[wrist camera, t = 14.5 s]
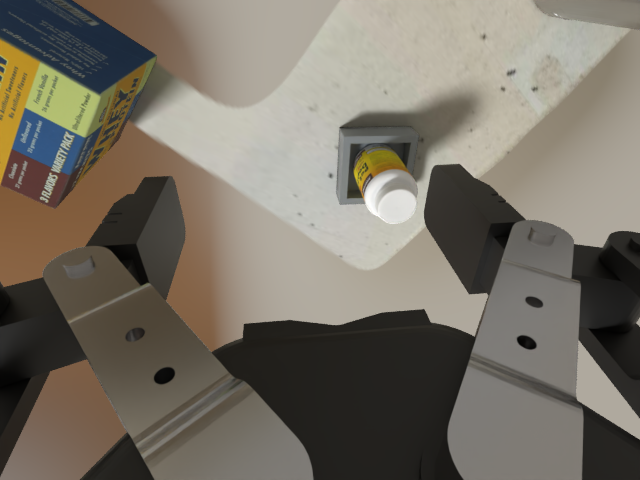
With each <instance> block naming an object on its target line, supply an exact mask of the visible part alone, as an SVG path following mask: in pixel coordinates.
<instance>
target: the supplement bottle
mask: <svg viewBox="0 0 640 480" xmlns="http://www.w3.org/2000/svg"><path fill="white" fill-rule="evenodd" d="M353 173H354V176H355V179H356V181H357V184H358V186H359V189H360V191H361V194H362V196H363V199H364V201H365V204H366V206H367V208H368V209H369V211H370V212H371V213H372V214H374V215H376V216H377V217H380V218H381V219H382V220H383V221H385V222H387V223H391V224H397V223H402V222H404V221H406V220H408V219H409V218H410V217H411V216H412V215H413V214H414V212H415V210H416V207H417V199H416V198H417V194H418V188H417V184H416V182H415V180H414V178H413V177H412V175H411V174H410V172H409V171H408V169H407V168H406V167H405V165H404V164H403V162H402V161H401V159H400V158H399V157H398V155H397V154H396V152H395V151H394V150H393V149H392V148H391V147H389V146H387V145H384V144H372V145H369V146H367V147H365V148H364V149H362V150H361V151H360V152H359V153H358V155H357V156H356V158H355V160H354V163H353Z"/></svg>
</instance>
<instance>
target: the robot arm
mask: <svg viewBox="0 0 640 480" xmlns="http://www.w3.org/2000/svg"><path fill="white" fill-rule="evenodd" d="M534 2H535V4H536V6H537V7H538V8H539V9H540V10H541V11H542V12H543V13H545V14H547V15H549V16H553V17H558V18H563V19H567V20H577V21H584V22H590V23H597V24H603V25H610V26H616V27H623V28H630V29H636V30H640V0H534ZM424 219H425V224H426V227H427V229H428V230H429V232H430V233H431V235H432V236H433V238H434V239H435V241H436V243H437V244H438V246H439V248H440V249H441V251H442V252H443V254H444V255H445V257H446V259H447V260H448V262H449V263H450V265H451V266H452V268H453V269H454V271H455V273H456V274H457V276H458V277H459V279H460V281H461V282H462V284H463V285H464V287H465V288H466V290H467V292H468V293H469V294H479V293H487V294H488V295H489V296H488V298H487V301H486V304H485V307H484V310H483V313H482V316H481V319H480V322H479V325H478V328H477V331H476V334H475V337H474V336H472V335H470V334H468V333H466V332H463V331H461V330H458V329H456V328H452V327H449V326H446V325H441V324H436V323H431V322H430V320H429V318H428V316H427V314H426V312H425V310H424V309H422V310H409V311H397V312H385V313H379V314H376V315H373V316H369V317H366V318H363V319H359V320H356V321H352V322H349V323H346V324H343V325H327V324H318V323H310V322H301V321H293V320H287V321H273V322H262V323H249V324H244V330H243V338H242V339H239V340H236V341H233V342H231V343H228V344H226V345H224V346H222V347H220V348H218V349H216V350H214V351H213V352H211V351H210V350H209V349H208V348H207V347H206V346H205V345H204V344H203V342H202V341H201V340H200V339H199V338H198V337H197V336H196V335H195V333H194V332H193V331H192V330H191V329H190V328H189V327H188V326H187V325H186V323H185V322H184V321H183V320H182V319H181V318H180V316H179V315H178V314H177V313H176V312H175V311H174V310H173V309H172V307H171V306H170V305H169V304H168V303H167V302H166V299H167V295H168V292H169V289H170V286H171V283H172V279H173V276H174V273H175V270H176V267H177V264H178V260H179V257H180V254H181V251H182V248H183V244H184V241H185V224H184V219H183V214H182V210H181V206H180V202H179V197H178V193H177V189H176V185H175V181H174V179H173V177H171V176H163V177H145V178H144V179H143V180H142V182H141V183H140V185H139V187H138V188H137V190H136V192H135V193H134V194H127V195H126V196H125V197H123V198H121V199H120V200H119V201H117V202H116V203H114V205H113V206H112V207H111V209H110V211H109V212H108V215H106V216H105V218H104V219H103V221H102V224H100V225H99V227H98V228H97V230H96V231H95V233H94V234H93V236H92V237H91V239H90V240H89V242H88V243H87V245H86V246H85V247H81V248H76V249H73V250H70V251H68V252H65V253H63V254H61V255H59V256H58V257H56V258H54V259H53V260H52V261H51V262H49V263H48V264H47V265H46V267H45V268H44V270H43V277H42V278H39V279H35V280H31V281H27V282H23V283H19V284H15V285H11V286H7V287H3V285H2V284H1V282H0V476H1V474H2V472H3V470H4V468H5V465H6V463H7V461H8V459H9V457H10V455H11V453H12V451H13V449H14V447H15V444H16V442H17V440H18V438H19V436H20V434H21V432H22V430H23V427H24V425H25V423H26V421H27V419H28V417H29V415H30V413H31V411H32V409H33V407H34V405H35V402H36V400H37V398H38V396H39V394H40V392H41V390H42V388H43V385H44V383H45V381H46V379H47V377H48V375H49V373H50V371H52V370H55V369H58V368H61V367H64V366H67V365H70V364H73V363H76V362H79V361H82V360H86V359H87V360H88V362H89V364H90V366H91V367H92V369H93V371H94V373H95V375H96V377H97V378H98V380H99V382H100V384H101V386H102V388H103V389H104V391H105V393H106V395H107V397H108V399H109V400H110V402H111V404H112V406H113V408H114V410H115V411H116V413H117V415H118V417H119V419H120V421H121V422H122V424H123V426H124V428H125V430H126V432H127V433H126V434H125V435H124V436H123V437H122V438H121V439H120V440H119V441H118V442H117V443H116V444H115V445H114V446H113V447H112V448H111V449H110V450H109V451H108V452H107V453H106V454H105V455H104V456H103V457H102V458H101V459H100V460H99V461H98V462H97V463H96V464H95V465H94V466H93V467H92V468H91V469H90V470H89V471H88V472H87V473H86V474H85V475H84V476H83V477H82V478H81V479H80V480H640V440H639V439H638V438H636V437H634V436H633V435H631V434H629V433H628V432H626V431H625V430H623V429H622V428H620V427H618V426H617V425H615V424H614V423H612V422H611V421H609V420H607V419H606V418H604V417H603V416H601V415H599V414H597V413H596V412H595V411H593V410H591V409H590V408H588V407H587V406H585V405H583V404H582V403H580V402H579V401H577V399H576V381H577V359H578V339H579V341H580V342H581V343H582V345H583V346H584V347H585V348H586V350H587V351H588V352H589V354H590V355H591V356H592V357H593V359H594V360H595V361H596V363H597V364H598V365H599V366H600V368H601V369H602V370H603V372H604V373H605V374H606V375H607V377H608V378H609V379H610V381H611V382H612V383H613V384H614V386H615V387H616V388H617V390H618V391H619V392H620V393H621V395H622V396H623V397H624V399H625V400H626V401H627V402H628V404H629V405H630V406H631V407H632V409H633V410H634V411H635V413H636V414H637V415H638V416H639V418H640V327H639V326H638V325H637V324H636V322H637V321H638V319H639V318H640V233H636V232H629V231H618V232H614V233H611V234H610V235H609V237H608V239H607V241H606V243H605V245H604V246H603V248H599V247H591V246H584V245H576V244H574V240H573V238H572V237H571V235H569V233H567V232H566V231H565V230H563V229H561V228H559V227H557V226H555V225H553V224H549V223H546V222H542V221H536V220H526V219H525V218H524V217H523V216H521V215H520V214H519V213H518V212H517V211H516V210H515V209H514V208H513V207H512V206H511V205H510V204H508V203H506V200H505V199H503V198H502V197H501V196H499V195H498V193H497V192H496V191H495V190H494V189H493V188H492V187H491V186H490V185H487V184H486V183H484V182H482V181H480V180H478V179H476V178H474V177H473V176H472V175H471V174H470V173H469V172H467V171H466V170H465V169H464V168H463V167H462V166H461V165H460V164H450V165H435V166H434V167H433V169H432V172H431V176H430V182H429V187H428V192H427V198H426V203H425V209H424Z"/></svg>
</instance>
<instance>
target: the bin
mask: <svg viewBox="0 0 640 480" xmlns="http://www.w3.org/2000/svg"><path fill="white" fill-rule="evenodd" d="M418 139H419V135H418V134H417V133H416V131H415V130H414V129H413V128H412V127H340V131H339V150H338V169H337V189H336V194H337V197H338V200H339V204H340V205H344V204H365V201H364V199H363V196H362V194H361V191H360V189H359V186H358V184H357V181H356V179H355V176H354V173H353V163H354V160H355V158H356V156H357V155H358V153H359V152H360V151H361V150H362V149H364V148H365V147H367V146H369V145H372V144H384V145H387V146H389V147H391V148H392V149H393V150H394V151H395V152H396V154H397V155H398V157H399V158H400V159H401V161H402V162H403V164H404V165H405V167H406V168H407V169H408V171H409V172H410V174H411V175H412V174H413V168H414V162H415V156H416V151H417V145H418Z"/></svg>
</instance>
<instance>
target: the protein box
mask: <svg viewBox="0 0 640 480" xmlns="http://www.w3.org/2000/svg"><path fill="white" fill-rule="evenodd" d="M156 59H157V55H155V54H154V53H152V52H151V51H149V50H148V49H146V48H145V47H143V46H141V45H140V44H138V43H137V42H135V41H134V40H132V39H131V38H129V37H127V36H126V35H124V34H123V33H121V32H120V31H118V30H117V29H115V28H114V27H112V26H110V25H109V24H107V23H106V22H104V21H103V20H101V19H100V18H98V17H97V16H95V15H94V14H92V13H90V12H89V11H87V10H86V9H84V8H83V7H81V6H80V5H78V4H77V3H75V2H74V1H72V0H0V186H3V187H5V188H8V189H10V190H12V191H15V192H17V193H19V194H22V195H24V196H26V197H28V198H31V199H33V200H35V201H37V202H40V203H42V204H44V205H47V206H49V207H51V208H53V209H55V208H56V207H57V206H58V205H59V204H60V203H61V202H62V201H63V200H64V198H65V197H66V196H67V195H68V194H69V193H70V192H71V191H72V190H73V188H74V187H75V186H76V185H77V184H78V183H79V182H80V181H81V180H82V179H83V178H84V176H85V175H86V174H87V173H88V172H89V171H90V170H91V169H92V168H93V167H94V165H95V164H96V163H97V162H98V161H99V160H100V159H101V158H102V157H103V155H105V154H106V153H107V151H109V150H110V148H111V147H112V146H113V145H114V144H115V143H116V142H117V141H118V140H119V138H120V136H121V133H122V131H123V129H124V127H125V125H126V123H127V121H128V119H129V116H130V114H131V113H132V110H133V108H134V106H135V104H136V102H137V100H138V98H139V96H140V94H141V92H142V89H143V87H144V85H145V83H146V81H147V79H148V77H149V74H150V72H151V70H152V68H153V66H154V64H155V61H156Z"/></svg>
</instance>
